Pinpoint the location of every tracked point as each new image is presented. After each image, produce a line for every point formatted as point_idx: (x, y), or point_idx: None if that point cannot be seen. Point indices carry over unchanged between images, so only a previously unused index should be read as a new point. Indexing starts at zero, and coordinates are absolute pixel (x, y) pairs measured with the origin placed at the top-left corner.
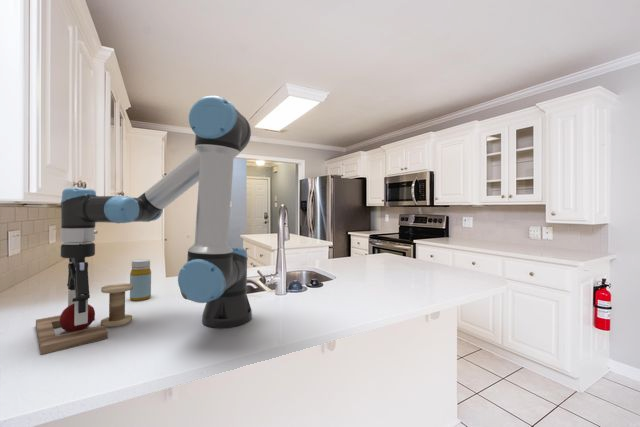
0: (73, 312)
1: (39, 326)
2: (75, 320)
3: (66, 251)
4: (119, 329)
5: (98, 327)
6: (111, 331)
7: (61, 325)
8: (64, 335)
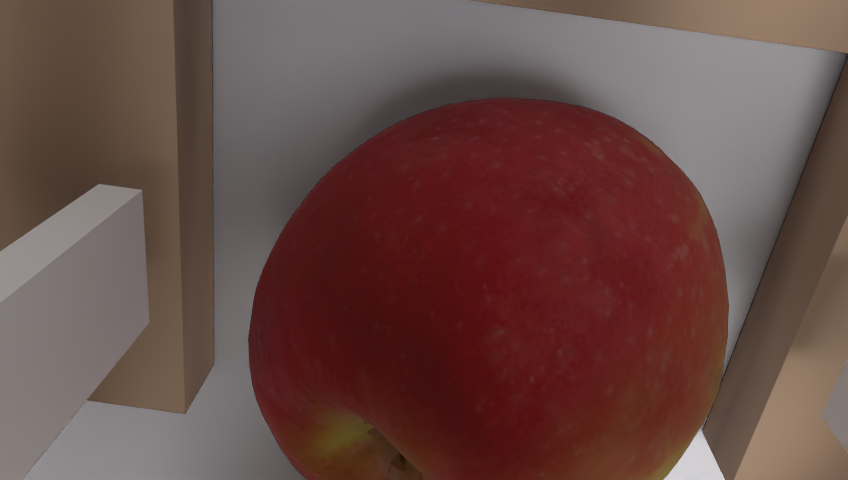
0: (292, 293)
1: None
2: (59, 222)
3: None
4: (198, 466)
5: (141, 363)
6: (192, 412)
7: (479, 100)
8: (102, 39)
